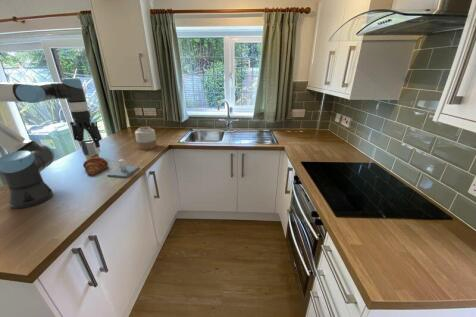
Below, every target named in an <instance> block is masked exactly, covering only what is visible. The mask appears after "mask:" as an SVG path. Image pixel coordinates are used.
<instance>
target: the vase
mask: <svg viewBox="0 0 476 317" xmlns="http://www.w3.org/2000/svg"><path fill="white" fill-rule="evenodd" d="M134 136H135V140H136V146H137V149H138V150H141V151H147V150H148V149H149V150H154V149H155V147H156V148H157V146H158V145H157V139H156V138H157V137H156V131H155V129H154V128H151V127H150V126H141V127H138V128H137V129H136V130H135V131H134Z"/></svg>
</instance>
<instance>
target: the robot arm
mask: <svg viewBox="0 0 476 317" xmlns="http://www.w3.org/2000/svg"><path fill="white" fill-rule="evenodd" d="M60 81H61V82H34V83H29V82H28V83H27V82H25V83H24V82H0V103H1V102H4V103H5V102H9V103H10V102H11V103H12V102H14V103H15V102H18V103H23V102H24V103H28V104H38V103H41V102H45V101H51V100H60V99H61V100H62V99H63V100H67V103H68V107H69V111H71V113H70V114H71V116H72V119H73V120H74V121H70V122H69V124H70V126H71V130H72V135H73V139H74V141H77V142H78V143H79V146H80V148H81V151H82V154H84V152H83V149H82V146H81V142H80V141H83V140H85V138H84V135H85V133H84V132H85V130H86V131H87V133H88V134H89V136H90V137H91V138H90V139H93V141H94V142H93V146H94V149H95V153H96V154H98V153H99V154H100V153H101V152H102V151H101V148H100V147H101V145H100V141H101V140H103V138H102V136H101V133H100V130H99V127H98V122H97V121H92V120H91V117H92V116H91V113H90V110H89V106H88V102H87V97H86V94H85V91H84V87H83V83H82V81H81V79H80V78H77V77H75V78H74V77H71V78H69V77H68V78H67V77H64V78H61V80H60ZM0 147H1V148H3V149H4V150H5V151H7V152H8V153H6V154H3V155H2V156H1V157H0V173H1V175H2V177H3V179H4V181H5V184H6V187H8V190H9V195H8V197H9V198H8V199H9V200H8V204H9V205H10V207H11V208H12V209H26V208H30V207H34V206H38V205H40V204H42V203H44V202H47V201H49V200H50V199H51V198H52V197H53V195H54V192H53V190H52V188H50V187H49V185H48V184H47V183H45V181H44V180H43V177H42V173H41V172H42V171H44V170H45V169H46V168H48V167H50V165H52V163H53V162H54V161H55V156H56V154H55V152H54V150H53V149H52V148H51V147H50V146H48V145H47V144H39V143H37V142H36V141H35V140H32V139H26V138H25V137H23V136H22V135H20V134H19V132H16V131H15V130H14V129H12V128H10V127H9V126H8V125H7V124H6V123H5V122H3V121H1V120H0Z"/></svg>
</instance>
